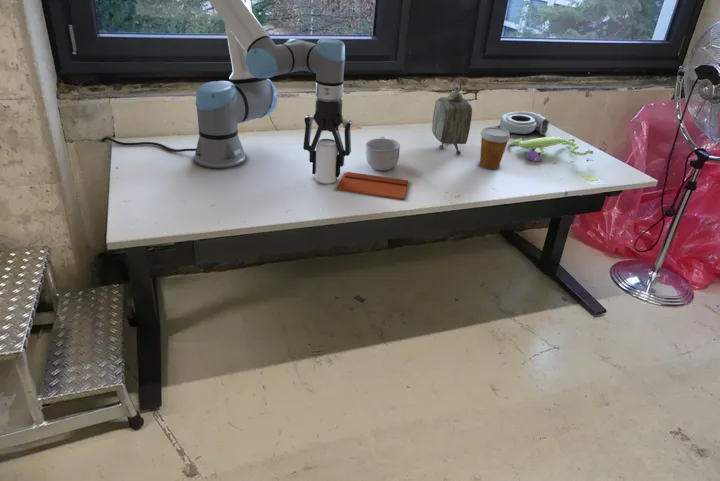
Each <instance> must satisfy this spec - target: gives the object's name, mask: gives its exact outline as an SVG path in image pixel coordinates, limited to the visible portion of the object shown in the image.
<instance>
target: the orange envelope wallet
mask: <svg viewBox="0 0 720 481" xmlns="http://www.w3.org/2000/svg"><path fill="white" fill-rule="evenodd" d="M408 186H409V180H408V179H402V178H395V177H387V176H380V175H373V174H367V173H358V172H351V171H347V172H344V174H343V176H342V177H341V179H340V181H339V183H338V185H337V186H336V191H340V192H346V193H347V192H348V193H355V194H359V195H360V194H361V195H368V196H374V197H375V196H376V197H382V198H388V199H396V200H402V201H404V200H405V197H406V194H407V189H408Z"/></svg>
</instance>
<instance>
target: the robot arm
mask: <svg viewBox="0 0 720 481" xmlns="http://www.w3.org/2000/svg"><path fill="white" fill-rule="evenodd" d="M207 1H208V2H209V3H210V5H211V6H212V8H213V9H214V10H215V12H216V13H217V14H218V16H219V18H220V19H221V21H223V22H224V26H225V33H226V39H227V45H228V50H229V55H230V56H229V57H230V61H231V67H232V72H231V74H230V75H229V77H228V78H229V81H228V80H217V81H216V80H214V81H209V82H205V83H203V84H201V85H200V86H199V87H198V88H197V89H196V92H195V106H196V113H197V114H196V115H197V124H198V125H197V126H198V135H199V136H198V141H197V143H196V148H181V149H180V148H179V149H177V148H171V147H168V146H166V145H164V144H162V143H159V142H154V141H153V142H152V141H138V142H122V141H119V140H116V139H113V138H112V137H108V136H106V137H103V138H101V140H100V142H102V143H103V142H105V141H110V142H112V143H115V144H117V145H120V146H143V145H151V146H157V147H160V148H162V149H165V150H167V151H170V152H174V153H181V152H183V153H184V152H194V158H195V159H194V160H195V162H196V164H198V165H199V166H202V167H205V168H210V169H227V168H228V169H229V168H234V167H237V166H239V165H241V164H242V163H244V162H245V160H246V154H245V153H246V152H245V150H244V147H243V144H242V142H241V140H240V137H239V131H238V127H239V126H238V124H243V123H244V122H249V121H252V120H256V119H262V118H264V117H266V116H268V115H270V114H272V113H273V112H274V110H275V109H276V107H277V104H278V91H277V87H276V85H274V82H273V81H272V80H271V79H269V78H273V77H275V76H281V75H285V74H286V75H287V74H292V73H296V72H300V71H305V72H309V73H313V74H315V79H316V80H315V96H316V98H315V109H314V110H315V111H314V114H313V115H310V114H307V115H306V116H305V117H304V119H303V121H304V124H305V129H304V139H303V147H302V148H303V150H304V151H308V154H309V159H308V161H309V163H312V166H311V168H312V169H311V172H312V173H311V174H312V175H315V172H316V146H317V144H318V141H319V140H320V138H321V135H322V133H323V132H330V133H331V134H332V136H333V140H335V143H336V146H337V149H338V155H337V159H336V177H337V178H339V177H340V175H341V167H343V166H344V164H345V156H347V157H348V156H350V154H351V152H352V139H351V138H352V137H351V128H352V125H353V121H352V120H348V119H344V117H343V97H344V74H345V64H346V63H345V62H346V46H345V42H344V41H343V40H341V39H337V38H329V37H327V38H320V39H319V40H317V42H316V43H314V42H310V41H305V40H303V39H299V38H298V39H296V38H289V39H288V40H286V42H284V43H283V44H276V43H275V42H274V41H273V39H272V38H271V37H270V35H269V34H268V33H267V31H266V30H265V28H264V26H263V25H262V24H261V22H260V21H259V20H258V18H256V16H255V14H254V13H253V8H252V3H251V0H207ZM314 122H315V123H316V125H317V128H316V131H315V133H314V134H315V135H314V137H313V140H312V141H311V134H312V129H313V128H312V126H313V123H314ZM341 125H342V127H343V129H344V144H343V140H342V137H341V133H340V128H339V127H340V126H341ZM310 143H311V145H310Z"/></svg>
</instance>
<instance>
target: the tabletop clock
mask: <svg viewBox="0 0 720 481" xmlns="http://www.w3.org/2000/svg"><path fill="white" fill-rule="evenodd" d="M456 82H458V84H459V86H456ZM453 90H454V91H452V92H450V93H449V94H448V96H441V97H439V98H437V99H436V100H435V103H434V109H433V116H432V125H431V131H432V134H433V136H434V137H435V139H436V140H437V141H439V142H440V143H441V144H440V145H439V146H438V149H439V150H441V151H442V150H444V145H453V146H454V147H455V150H456V152H455V153H456V155H457V156H461V154H462V151H461V150H459V146H458V145H466V144H467V142H468V139H469V134H470V130H471V124H472V116H473V107H472V105H471V104H470V102H469V101H468V100H467V99H466V98H465V97H463V94H462V93H461V90H462V81H461V79H460V78H458V77H456V78H455V79H454V80H453Z"/></svg>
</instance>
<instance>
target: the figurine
mask: <svg viewBox="0 0 720 481" xmlns="http://www.w3.org/2000/svg"><path fill="white" fill-rule="evenodd" d="M575 141H576V139H575V138H572V137H571V138H569V139H568V140H566V139H565V138H564V137H558V136H545V137H537V138H533V139H528V140H524V141H523V139H522V137H519V138H517V139H515V140H511V141H509V144H508V145H510V146H512V145H515V144H516V145H517V144H518V146H519V147H520V148H523V149H525V150H526V151H527V154H526V158H527V159H529V160H531V161H533V162H539V161H540V160H541V158H542V155H544V154H545V153H546V151H548V149H547V148H548V147H552V146H556V145H559V144H560V145H563V146H566V145H568V146H570V147H572V148H570V150H569V152H570V154H573V155H575V156H576V155H577V156H583V157H584V156H587V155H588V154H589V155H593V154H594V150H590V149H588V150H587V149H586V150H585V151H584V152H579V151H577V150H578V149H579V145H578V144H577V143H575ZM537 149H539V151H536V150H537ZM545 150H546V151H545Z"/></svg>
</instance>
